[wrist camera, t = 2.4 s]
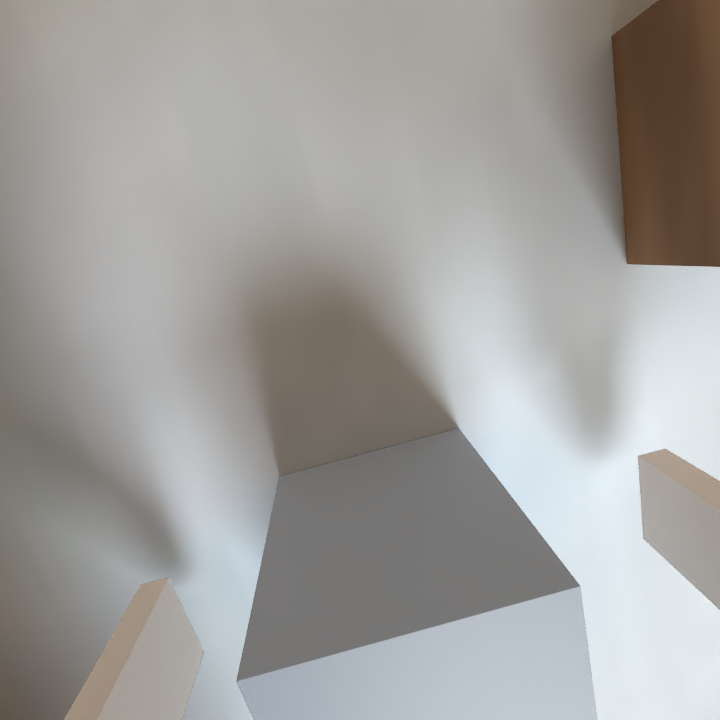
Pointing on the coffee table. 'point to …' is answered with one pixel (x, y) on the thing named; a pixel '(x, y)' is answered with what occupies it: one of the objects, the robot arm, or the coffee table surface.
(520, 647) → the gray brick
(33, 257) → the coffee table surface
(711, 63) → the walnut brick
